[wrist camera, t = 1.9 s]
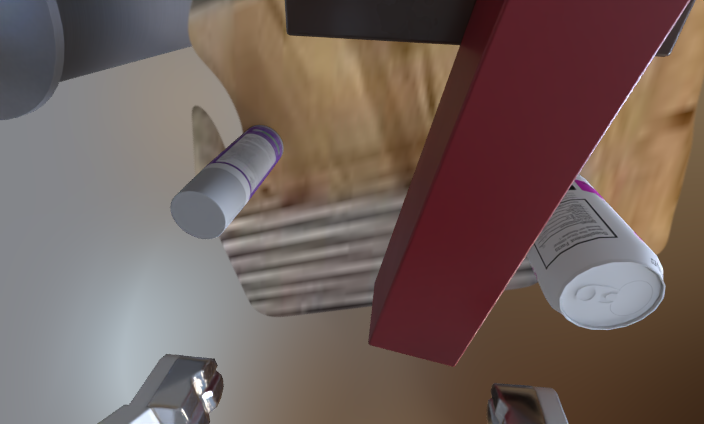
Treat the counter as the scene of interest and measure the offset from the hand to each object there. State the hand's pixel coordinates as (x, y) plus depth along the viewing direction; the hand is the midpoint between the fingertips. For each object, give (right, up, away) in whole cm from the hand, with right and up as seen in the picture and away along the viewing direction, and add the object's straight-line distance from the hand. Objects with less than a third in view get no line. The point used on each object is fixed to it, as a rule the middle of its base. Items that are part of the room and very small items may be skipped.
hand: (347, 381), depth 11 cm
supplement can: (+21, +7, +29) cm, 37 cm away
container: (-10, +13, +30) cm, 34 cm away
